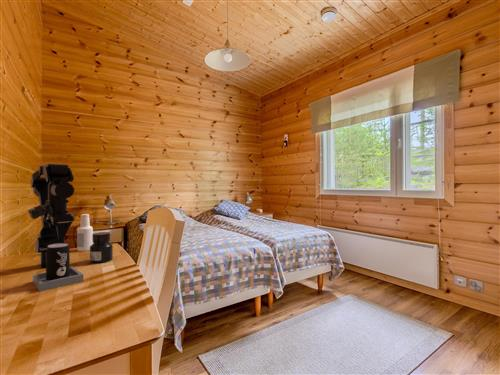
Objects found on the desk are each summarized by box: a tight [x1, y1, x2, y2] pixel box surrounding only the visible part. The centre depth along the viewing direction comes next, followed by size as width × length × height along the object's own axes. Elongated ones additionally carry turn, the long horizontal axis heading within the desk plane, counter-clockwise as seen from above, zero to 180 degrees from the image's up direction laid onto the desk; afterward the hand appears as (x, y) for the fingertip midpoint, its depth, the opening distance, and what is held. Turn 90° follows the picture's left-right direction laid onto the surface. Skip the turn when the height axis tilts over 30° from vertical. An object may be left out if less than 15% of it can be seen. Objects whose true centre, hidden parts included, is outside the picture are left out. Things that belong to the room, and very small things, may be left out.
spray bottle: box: [76, 213, 94, 252], centre depth 134 cm, size 7×7×18 cm
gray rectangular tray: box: [32, 266, 84, 292], centre depth 91 cm, size 12×12×2 cm
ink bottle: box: [89, 231, 114, 264], centre depth 116 cm, size 10×9×12 cm
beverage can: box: [45, 242, 71, 281], centre depth 91 cm, size 7×7×12 cm
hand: (57, 238), depth 99 cm, fingers open, 9 cm apart
